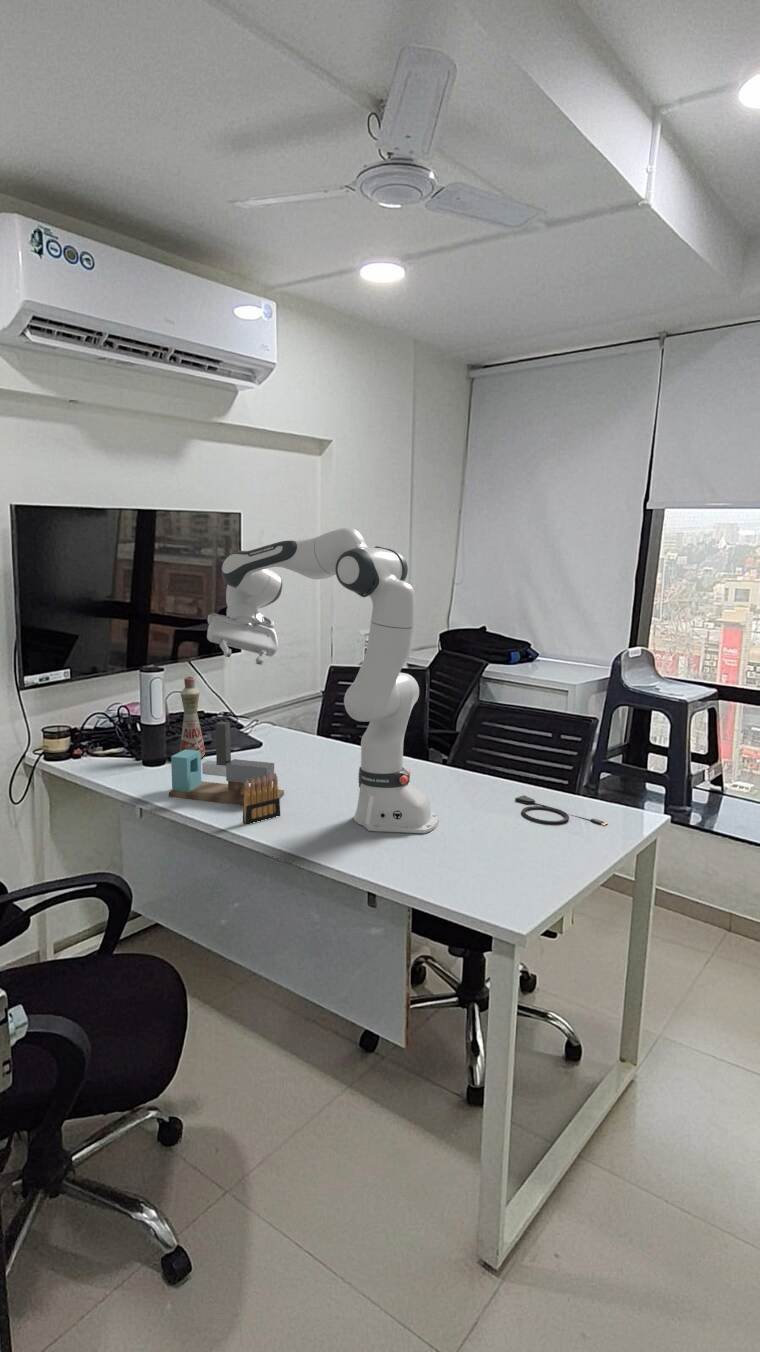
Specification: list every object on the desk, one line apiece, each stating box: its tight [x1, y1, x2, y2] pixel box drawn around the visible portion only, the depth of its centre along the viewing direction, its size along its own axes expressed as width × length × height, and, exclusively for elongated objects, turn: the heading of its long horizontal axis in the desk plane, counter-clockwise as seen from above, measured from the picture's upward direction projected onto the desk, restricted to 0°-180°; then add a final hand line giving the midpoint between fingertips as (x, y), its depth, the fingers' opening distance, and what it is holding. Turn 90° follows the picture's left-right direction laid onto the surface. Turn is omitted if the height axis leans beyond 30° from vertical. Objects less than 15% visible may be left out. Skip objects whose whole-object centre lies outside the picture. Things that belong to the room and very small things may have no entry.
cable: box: [514, 795, 609, 827], centre depth 212 cm, size 14×28×2 cm, turn 43°
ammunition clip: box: [242, 772, 281, 825], centre depth 205 cm, size 11×2×12 cm, turn 132°
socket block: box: [170, 749, 202, 792], centre depth 226 cm, size 5×8×10 cm, turn 164°
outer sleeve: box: [225, 758, 275, 785], centre depth 220 cm, size 12×5×5 cm, turn 74°
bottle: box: [179, 675, 206, 757], centre depth 259 cm, size 9×9×28 cm
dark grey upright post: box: [201, 721, 232, 778], centre depth 221 cm, size 19×3×15 cm, turn 74°
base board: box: [168, 780, 285, 807], centre depth 223 cm, size 30×12×6 cm, turn 74°
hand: (243, 659), depth 213 cm, fingers open, 8 cm apart
